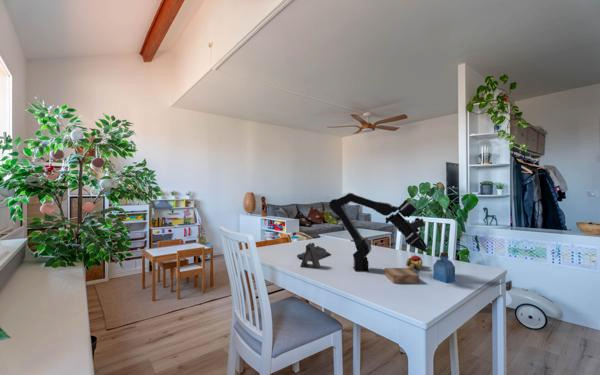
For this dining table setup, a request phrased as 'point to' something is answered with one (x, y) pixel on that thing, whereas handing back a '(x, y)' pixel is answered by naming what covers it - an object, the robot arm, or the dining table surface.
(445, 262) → the perfume bottle
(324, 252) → the stegosaurus figurine
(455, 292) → the dining table surface
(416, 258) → the kendama
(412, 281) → the walnut plinth
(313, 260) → the phone stand
